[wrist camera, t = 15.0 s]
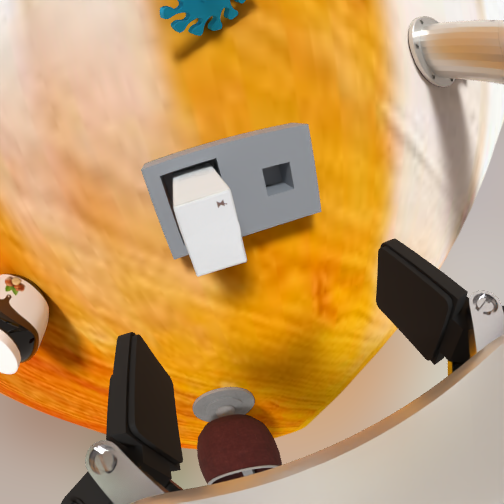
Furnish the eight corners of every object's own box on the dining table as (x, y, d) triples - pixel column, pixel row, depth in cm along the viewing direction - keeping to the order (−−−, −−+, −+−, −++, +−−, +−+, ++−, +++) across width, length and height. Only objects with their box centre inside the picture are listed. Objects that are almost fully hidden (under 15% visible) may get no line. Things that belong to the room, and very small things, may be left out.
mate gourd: (175, 399, 45) (192, 497, 28) (245, 375, 47) (282, 474, 29) (209, 430, 53) (230, 507, 36) (267, 409, 54) (299, 487, 37)
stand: (292, 122, 30) (308, 124, 26) (306, 201, 35) (321, 211, 31) (145, 163, 28) (141, 169, 24) (173, 243, 32) (174, 259, 29)
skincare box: (171, 173, 28) (171, 205, 18) (209, 161, 29) (232, 186, 19) (186, 223, 31) (196, 279, 21) (222, 212, 32) (250, 262, 22)
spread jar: (59, 295, 31) (33, 357, 21) (42, 343, 33) (24, 401, 23) (-7, 252, 25) (-49, 300, 15) (-16, 307, 27) (-45, 357, 17)
